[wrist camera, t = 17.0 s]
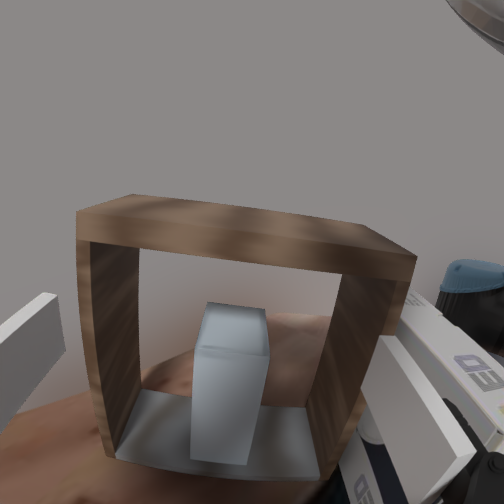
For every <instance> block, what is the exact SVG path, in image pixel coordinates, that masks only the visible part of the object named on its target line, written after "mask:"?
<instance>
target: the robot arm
mask: <svg viewBox="0 0 504 504" xmlns="http://www.w3.org/2000/svg"><path fill="white" fill-rule="evenodd" d="M446 1H447V2H448V3H449V5H450V6H451V8H452V9H453V10H454V11H455V13H456V14H457V15H458V16H459V17H460V18H461V20H462V21H463V22H464V23H465V24H466V25H468V27H470V28H471V29H472V30H473V31H474V32H475V33H476V34H477V35H478V36H480V37H481V38H482V39H483V40H485V41H486V42H487V43H488V44H490V45H491V46H492V47H494V48H495V49H496V50H497V51H499V52H500V53H502V54H503V55H504V0H446ZM435 308H436V309H437V310H439V311H440V312H441V313H442V314H443V315H442V316H443V317H445V318H446V319H447V320H448V321H449V322H450V323H452V324H453V325H454V326H457V327H459V328H460V329H461V330H462V331H463V332H465V333H466V334H467V335H468V336H469V337H470V338H471V339H473V340H474V341H475V342H476V343H477V344H478V345H479V346H480V347H482V348H483V349H484V350H485V351H486V352H487V351H488V352H491V353H494V354H497V355H499V356H502V357H504V266H501V265H499V264H495V263H491V262H485V261H479V260H469V259H462V260H456V261H454V262H452V263H451V264H450V265H449V267H448V268H447V271H446V274H445V277H444V280H443V283H442V284H441V285H440V293H439V296H438V299H437V303H436V306H435ZM65 351H66V349H65V344H64V337H63V332H62V325H61V318H60V312H59V303H58V295H54V294H50V293H46V292H43V293H42V294H40V295H39V296H38V297H36V298H35V299H34V300H32V301H31V302H30V303H28V304H27V305H26V306H25V307H23V308H22V309H21V310H19V311H18V312H17V313H16V314H14V315H13V316H12V317H11V318H9V319H8V320H7V321H5V322H4V323H3V324H2V325H1V326H0V434H1V433H2V431H3V430H4V429H5V427H6V426H7V425H8V423H9V422H10V420H11V419H12V418H13V416H14V415H15V414H16V412H17V411H18V410H19V408H20V407H21V406H22V405H23V403H24V402H25V401H26V399H27V398H28V397H29V396H30V394H31V393H32V391H33V390H34V389H35V388H36V387H37V385H38V384H39V383H40V381H41V380H42V379H43V378H44V377H45V375H46V374H47V373H48V372H49V370H50V369H51V368H52V367H53V365H54V364H55V363H56V362H57V361H58V359H59V358H60V357H61V356H62V355H63V354H64V352H65ZM361 391H362V393H363V395H364V397H365V400H366V402H367V404H368V406H369V409H370V411H371V413H372V416H373V418H374V420H375V423H376V425H377V427H378V429H379V432H380V434H381V437H382V439H383V441H384V444H385V446H386V448H387V451H388V453H389V456H390V458H391V460H392V463H393V465H394V468H395V470H396V473H397V475H398V477H399V480H400V482H401V485H402V487H403V490H404V492H405V495H406V498H407V500H408V503H409V504H432V503H433V502H434V501H435V500H436V499H437V498H438V497H439V496H440V495H441V497H442V499H443V502H442V503H441V504H504V454H502V453H499V452H494V451H492V452H488V451H487V450H486V448H485V447H484V445H483V444H482V442H481V441H480V439H479V438H478V436H477V435H476V433H475V432H474V430H473V429H472V427H471V426H470V425H468V422H467V420H466V419H465V417H464V418H463V415H462V413H461V412H460V410H459V409H458V408H457V406H456V405H454V404H453V403H452V402H451V401H449V400H448V399H447V398H442V399H441V397H440V396H439V394H438V393H437V392H436V390H435V389H434V387H433V386H432V385H431V383H430V382H429V380H428V379H427V378H426V376H425V375H424V373H423V372H422V371H421V369H420V368H419V367H418V365H417V364H416V362H415V361H414V360H413V358H412V357H411V356H410V354H409V353H408V352H407V350H406V349H405V348H404V346H403V345H402V344H401V342H400V341H399V340H398V338H397V337H396V336H384V335H379V338H378V341H377V344H376V347H375V350H374V353H373V356H372V359H371V362H370V364H369V367H368V370H367V372H366V375H365V378H364V380H363V383H362V385H361Z"/></svg>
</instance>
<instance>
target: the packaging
mask: <svg viewBox="0 0 504 504" xmlns="http://www.w3.org/2000/svg"><path fill="white" fill-rule="evenodd" d="M442 315H443V314H442V313H441V312H440V311H439V310H437V309H436V308H435V307H434V306H433V305H431V304H430V303H429V302H428V301H427V300H425V299H424V298H423V297H421V296H420V295H419V294H418V293H417V292H416V291H414V290H413V289H412V288H411V287H409V290H408V293H407V297H406V300H405V303H404V307H403V310H402V313H401V316H400V319H399V322H398V325H397V328H396V331H395V334H394V336H396V337H397V338H398V340H399V341H400V342H401V344H402V345H403V346H404V348H405V349H406V350H407V352H408V353H409V354H410V356H411V357H412V358H413V360H414V361H415V362H416V364H417V365H418V367H419V368H420V369H421V371H422V372H423V373H424V375H425V376H426V378H427V379H428V380H429V382H430V383H431V385H432V386H433V387H434V389H435V390H436V392H437V393H438V394H439V396H440V397H441V399H442V398H447V399H448V400H449V401H451V402H452V403H453V404H454V405H456V406H457V408H458V409H459V410H460V412H461V413H462V415H463V418H464V417H465V419H466V420H467V422H468V425H470V426H471V427H472V429H473V430H474V432H475V433H476V435H477V436H478V438H479V439H480V441H481V442H482V444H483V445H484V447H485V448H486V450H487V451H488V452H492V451H494V452H499V453H502V454H504V368H503V367H502V366H501V365H500V364H499V363H498V362H497V361H496V360H495V359H493V357H491V356H490V355H489V354H488V353H487V352H486V351H485V350H484V349H483V348H482V347H480V346H479V345H478V344H477V343H476V342H475V341H474V340H473V339H471V338H470V337H469V336H468V335H467V334H466V333H465V332H463V331H462V330H461V329H460V328H459V327H457V326H454V325H453V324H452V323H450V322H449V321H448V320H447V319H446V318H445V317H443V316H442ZM338 464H339V467H340V470H341V473H342V477H343V480H344V483H345V487H346V490H347V493H348V497H349V500H350V503H351V504H409V503H408V500H407V498H406V495H405V492H404V490H403V487H402V485H401V482H400V480H399V477H398V475H397V473H396V470H395V468H394V465H393V463H392V460H391V458H390V456H389V453H388V451H387V448H386V446H385V444H384V441H383V439H382V437H381V434H380V432H379V429H378V427H377V425H376V423H375V420H374V418H373V416H372V413H371V411H370V409H369V406H368V404H367V405H366V407H365V409H364V412H363V414H362V416H361V418H360V420H359V422H358V424H357V426H356V429H355V431H354V433H353V435H352V437H351V439H350V441H349V443H348V445H347V447H346V449H345V450H344V452H343V454H342V456H341V458H340V460H339V462H338ZM442 502H443V499H442V497H441V495H440V496H439V497H438V498H437V499H436V500H435V501H434V502H433V503H432V504H441V503H442Z"/></svg>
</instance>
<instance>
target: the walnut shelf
mask: <svg viewBox="0 0 504 504" xmlns="http://www.w3.org/2000/svg"><path fill="white" fill-rule="evenodd" d="M140 248H143V249H150V250H157V251H158V250H159V251H165V252H173V253H180V254H187V255H195V256H202V257H210V258H218V259H226V260H233V261H241V262H249V263H257V264H264V265H272V266H281V267H289V268H297V269H304V270H313V271H321V272H329V273H338V274H342V278H341V282H340V286H339V291H338V295H337V299H336V303H335V307H334V311H333V315H332V319H331V323H330V326H329V330H328V334H327V337H326V341H325V345H324V348H323V352H322V355H321V359H320V362H319V366H318V369H317V372H316V376H315V379H314V382H313V385H312V389H311V392H310V395H309V398H308V401H307V404H306V407H305V408H301V407H279V406H264V405H260V408H259V413H258V417H257V422H256V426H255V430H254V435H253V439H252V443H251V448H250V452H249V456H248V460H247V465H236V464H226V463H216V462H208V461H200V460H193V459H190V440H191V411H192V397H186V396H180V395H174V394H168V393H162V392H157V391H152V390H147V389H142V388H141V374H140V355H139V323H138V322H139V320H138V286H139V285H138V284H139V249H140ZM416 260H417V256H416V255H415V254H413V253H411V252H409V251H408V250H406V249H405V248H403V247H401V246H399V245H398V244H396V243H394V242H393V241H391V240H389V239H387V238H385V237H384V236H382V235H380V234H378V233H377V232H375V231H373V230H371V229H370V228H368V227H366V226H364V225H361V224H355V223H349V222H343V221H337V220H331V219H324V218H318V217H312V216H305V215H299V214H292V213H285V212H277V211H270V210H264V209H257V208H249V207H241V206H234V205H226V204H218V203H210V202H201V201H193V200H184V199H175V198H166V197H156V196H146V195H136V194H131V195H128V196H124V197H121V198H118V199H114V200H111V201H108V202H105V203H101V204H98V205H95V206H92V207H88V208H85V209H83V210H79V211H77V212H76V266H77V287H78V301H79V313H80V323H81V332H82V340H83V347H84V355H85V362H86V367H87V373H88V380H89V385H90V390H91V396H92V400H93V405H94V410H95V414H96V419H97V423H98V427H99V431H100V435H101V439H102V443H103V446H104V450H105V454H106V456H109V457H112V458H116V459H120V460H123V461H127V462H131V463H135V464H140V465H144V466H149V467H153V468H158V469H163V470H169V471H174V472H180V473H187V474H193V475H200V476H208V477H217V478H227V479H239V480H255V481H322V480H329V478H330V476H331V474H332V473H333V471H334V469H335V467H336V465H337V464H338V462H339V460H340V458H341V456H342V454H343V452H344V450H345V449H346V447H347V445H348V443H349V441H350V439H351V437H352V435H353V433H354V431H355V429H356V426H357V424H358V422H359V420H360V418H361V416H362V414H363V412H364V409H365V407H366V405H367V402H366V400H365V397H364V395H363V393H362V391H361V385H362V383H363V380H364V378H365V375H366V372H367V370H368V367H369V364H370V362H371V359H372V356H373V353H374V350H375V347H376V344H377V341H378V338H379V335H384V336H394V334H395V331H396V328H397V325H398V322H399V319H400V316H401V313H402V310H403V307H404V303H405V300H406V297H407V293H408V290H409V286H410V283H411V279H412V276H413V272H414V268H415V264H416Z"/></svg>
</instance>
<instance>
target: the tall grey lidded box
mask: <svg viewBox="0 0 504 504" xmlns="http://www.w3.org/2000/svg"><path fill="white" fill-rule="evenodd" d="M269 361H270V349H269V340H268V332H267V323H266V315H265V309H260V308H252V307H244V306H235V305H228V304H220V303H213V302H207V305H206V309H205V312H204V316H203V320H202V324H201V327H200V331H199V334H198V338H197V342H196V345H195V353H194V370H193V389H192V411H191V440H190V459H193V460H200V461H208V462H216V463H226V464H236V465H247V460H248V456H249V452H250V448H251V443H252V439H253V435H254V430H255V426H256V422H257V417H258V413H259V408H260V404H261V399H262V394H263V390H264V385H265V380H266V376H267V371H268V366H269Z"/></svg>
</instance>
